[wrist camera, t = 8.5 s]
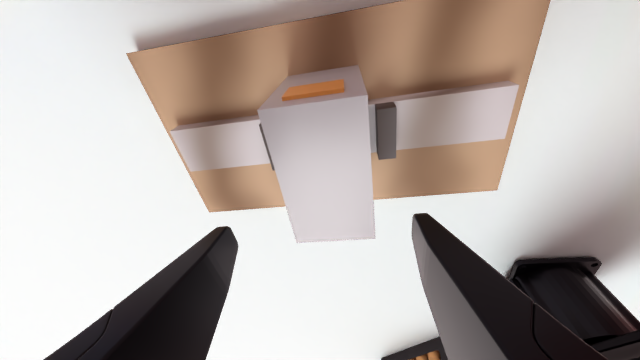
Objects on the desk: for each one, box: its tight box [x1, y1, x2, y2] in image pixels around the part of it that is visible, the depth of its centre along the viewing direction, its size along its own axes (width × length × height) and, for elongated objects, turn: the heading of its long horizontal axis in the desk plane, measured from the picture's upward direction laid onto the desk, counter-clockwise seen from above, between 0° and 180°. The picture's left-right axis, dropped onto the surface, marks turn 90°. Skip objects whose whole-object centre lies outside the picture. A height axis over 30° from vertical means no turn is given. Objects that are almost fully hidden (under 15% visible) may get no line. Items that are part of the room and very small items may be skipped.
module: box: [257, 65, 375, 243], centre depth 13 cm, size 4×7×6 cm, turn 9°
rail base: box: [126, 0, 550, 212], centre depth 15 cm, size 22×12×3 cm, turn 99°
